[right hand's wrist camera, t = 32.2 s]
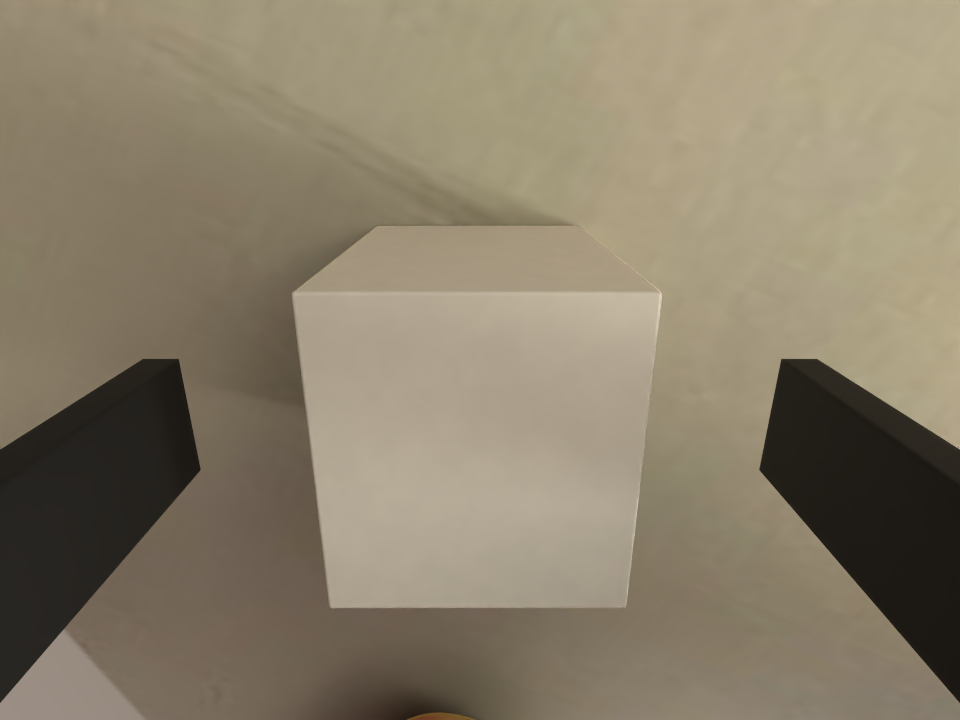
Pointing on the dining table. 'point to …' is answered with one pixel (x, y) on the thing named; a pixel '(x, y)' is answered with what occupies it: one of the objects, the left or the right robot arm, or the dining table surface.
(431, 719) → the apple
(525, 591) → the brick
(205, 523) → the dining table surface
